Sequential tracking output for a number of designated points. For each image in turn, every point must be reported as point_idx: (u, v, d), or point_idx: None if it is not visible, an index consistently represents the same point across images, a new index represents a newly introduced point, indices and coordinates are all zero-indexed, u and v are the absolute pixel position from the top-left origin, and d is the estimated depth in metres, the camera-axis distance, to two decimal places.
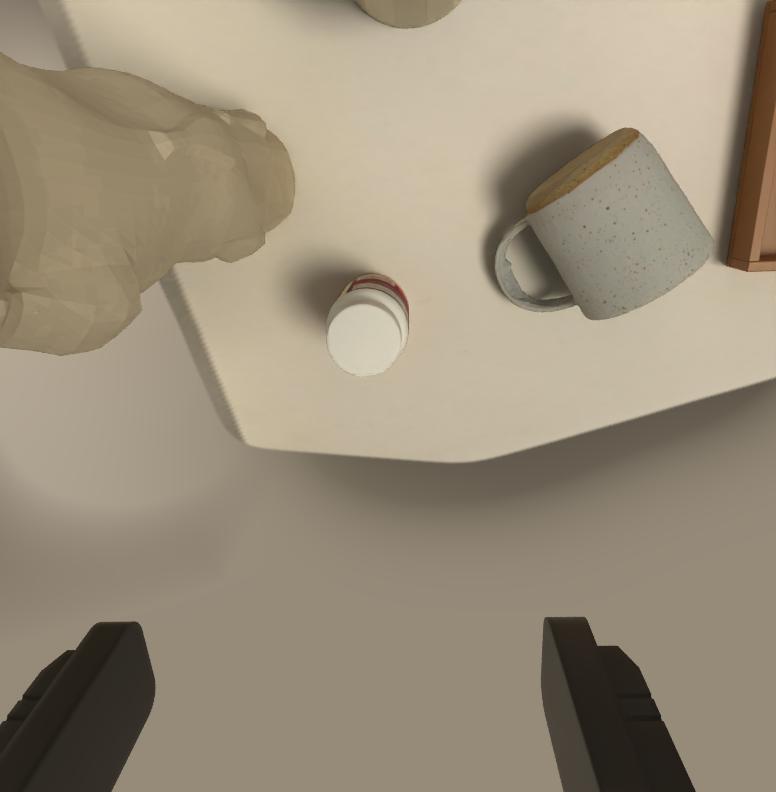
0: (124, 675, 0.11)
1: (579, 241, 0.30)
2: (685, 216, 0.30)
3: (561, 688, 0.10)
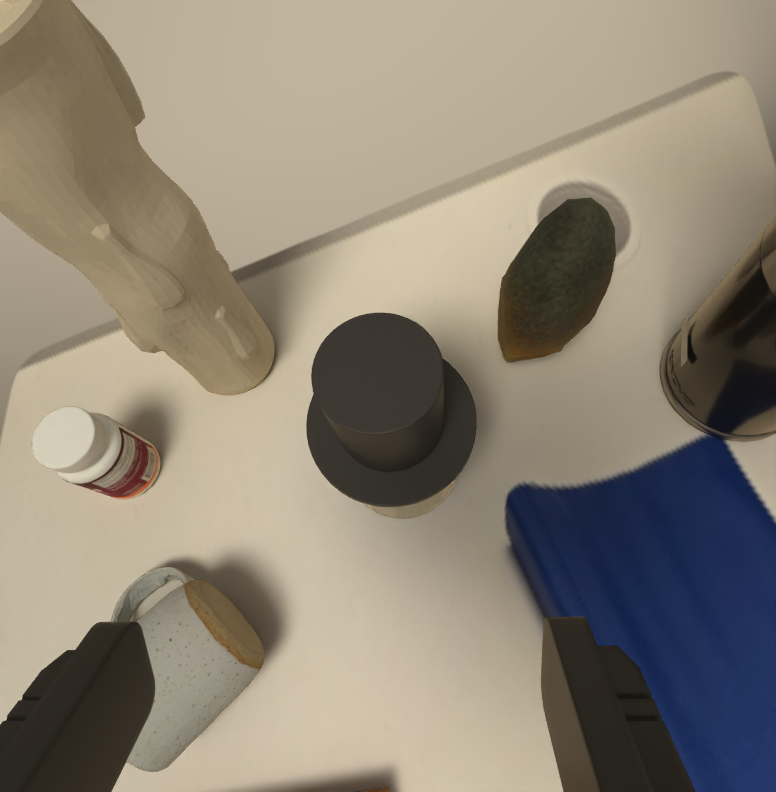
0: (124, 675, 0.11)
1: (148, 623, 0.33)
2: (166, 724, 0.31)
3: (561, 688, 0.10)
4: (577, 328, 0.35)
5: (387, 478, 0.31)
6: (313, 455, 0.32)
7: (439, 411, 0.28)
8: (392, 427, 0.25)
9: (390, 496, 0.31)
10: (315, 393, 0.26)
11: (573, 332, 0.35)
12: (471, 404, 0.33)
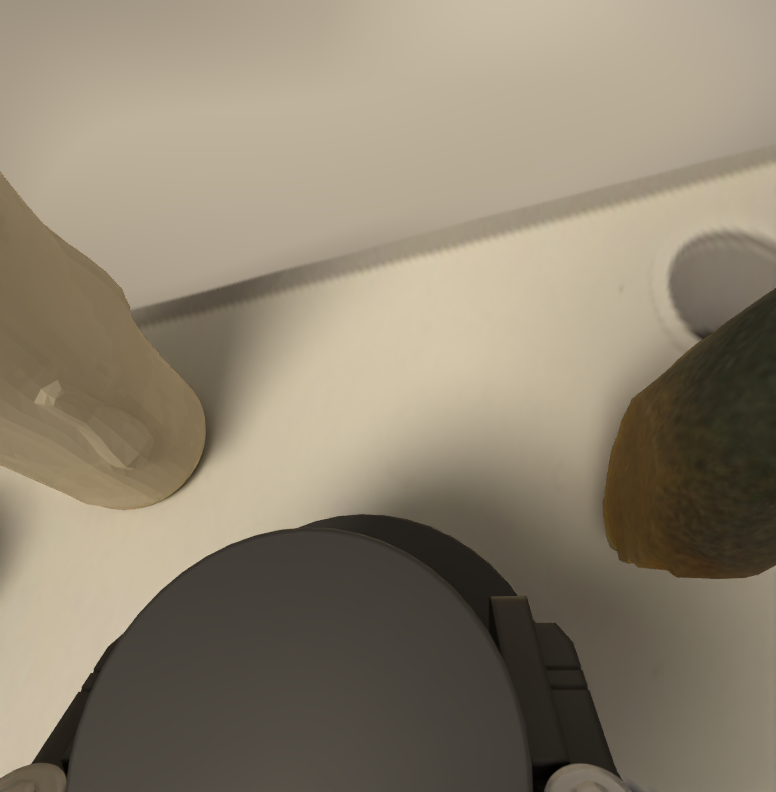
0: None
1: None
2: None
3: None
4: None
5: None
6: None
7: None
8: None
9: None
10: None
11: None
12: None
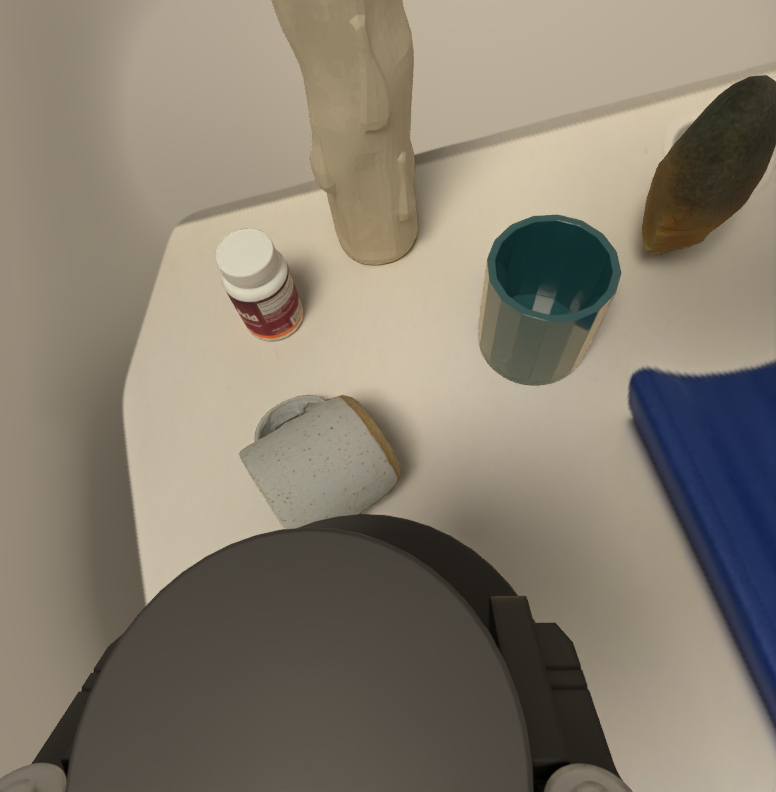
0: None
1: (307, 417, 0.36)
2: (321, 500, 0.34)
3: None
4: (732, 206, 0.37)
5: None
6: None
7: None
8: None
9: None
10: None
11: (728, 210, 0.37)
12: None
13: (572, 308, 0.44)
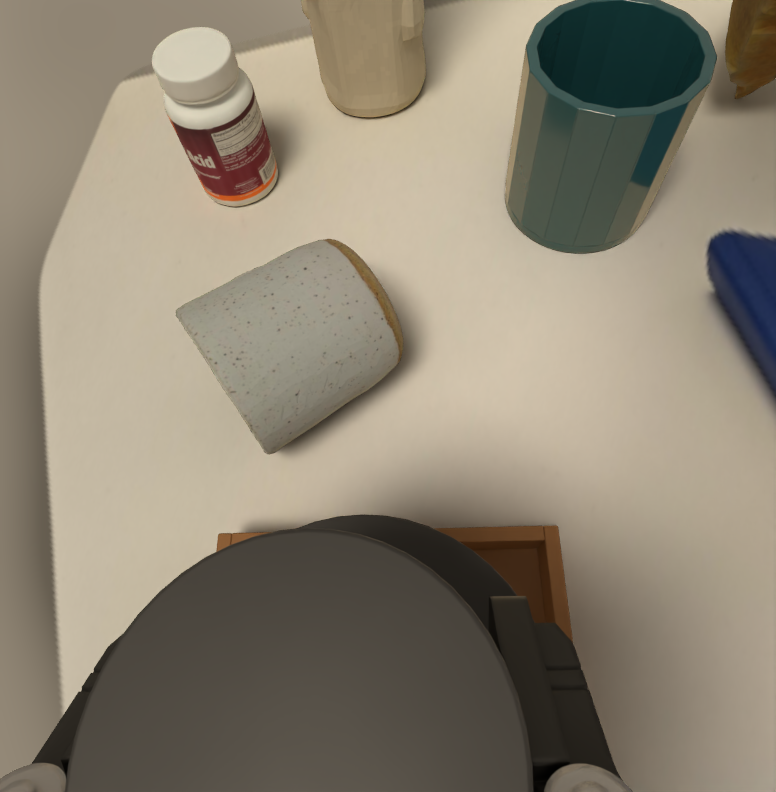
0: None
1: (273, 261, 0.25)
2: (288, 366, 0.23)
3: None
4: None
5: None
6: None
7: None
8: None
9: None
10: None
11: None
12: None
13: None
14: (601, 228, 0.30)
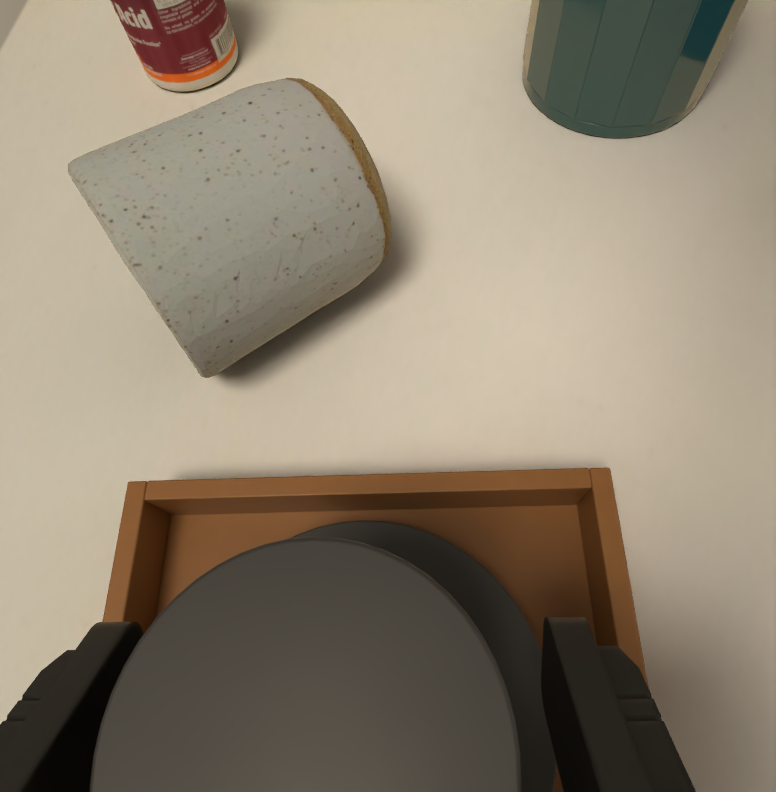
0: None
1: None
2: (222, 233, 0.16)
3: (562, 688, 0.10)
4: None
5: None
6: None
7: None
8: None
9: None
10: None
11: None
12: None
13: None
14: (651, 95, 0.23)
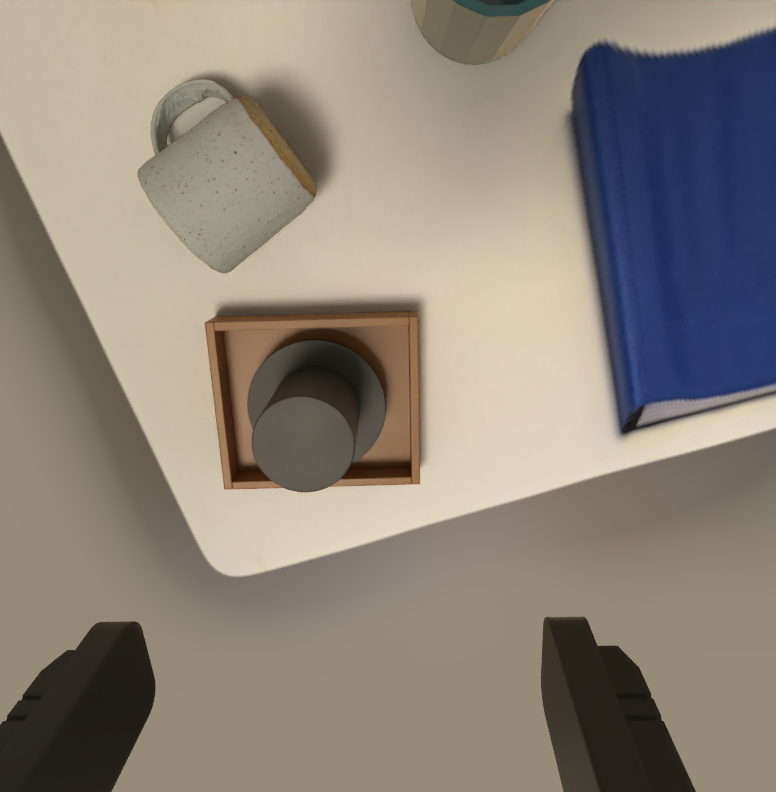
0: (125, 675, 0.11)
1: (206, 133, 0.32)
2: (235, 232, 0.33)
3: (561, 689, 0.10)
4: None
5: None
6: (252, 427, 0.41)
7: None
8: (311, 489, 0.34)
9: None
10: (254, 455, 0.34)
11: None
12: (383, 405, 0.40)
13: None
14: (486, 55, 0.35)
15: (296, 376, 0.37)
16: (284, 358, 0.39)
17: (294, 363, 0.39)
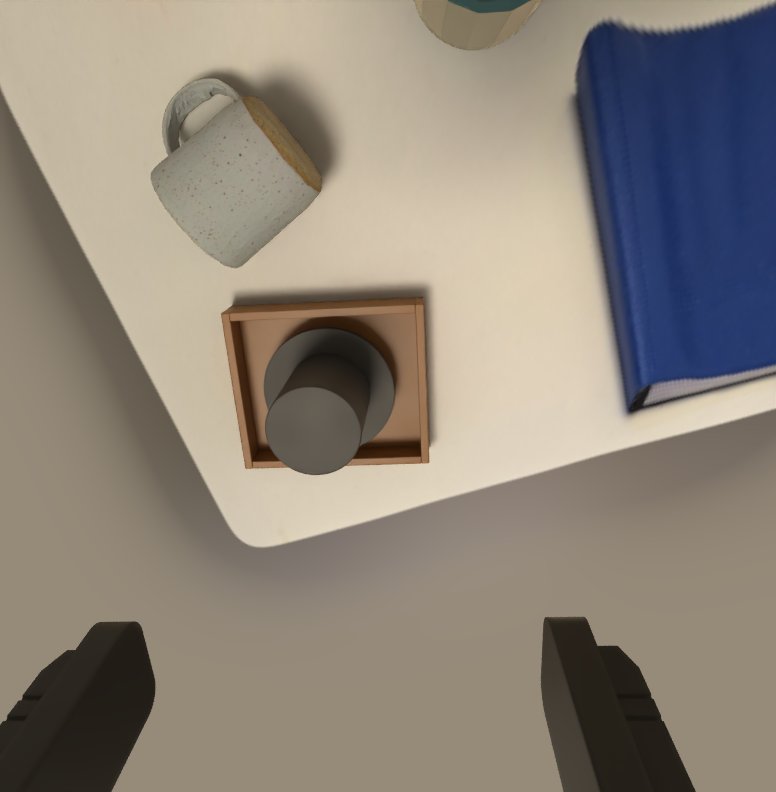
0: (125, 674, 0.11)
1: (213, 136, 0.33)
2: (243, 231, 0.35)
3: (561, 688, 0.10)
4: None
5: None
6: None
7: None
8: (322, 472, 0.37)
9: None
10: (268, 442, 0.36)
11: None
12: (392, 389, 0.42)
13: None
14: (486, 42, 0.35)
15: (307, 364, 0.39)
16: (297, 346, 0.41)
17: (306, 350, 0.41)
